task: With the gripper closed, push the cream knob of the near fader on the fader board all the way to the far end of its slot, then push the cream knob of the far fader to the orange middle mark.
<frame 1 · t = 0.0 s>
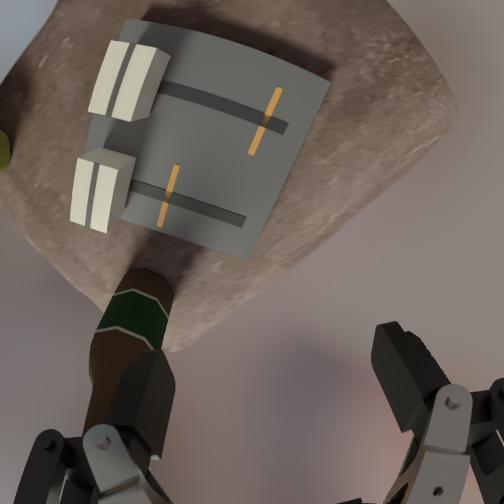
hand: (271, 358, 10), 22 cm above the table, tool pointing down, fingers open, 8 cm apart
fader board: (191, 134, 26), on the table
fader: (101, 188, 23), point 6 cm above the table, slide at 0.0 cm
beer bottle: (147, 290, 36), on the table
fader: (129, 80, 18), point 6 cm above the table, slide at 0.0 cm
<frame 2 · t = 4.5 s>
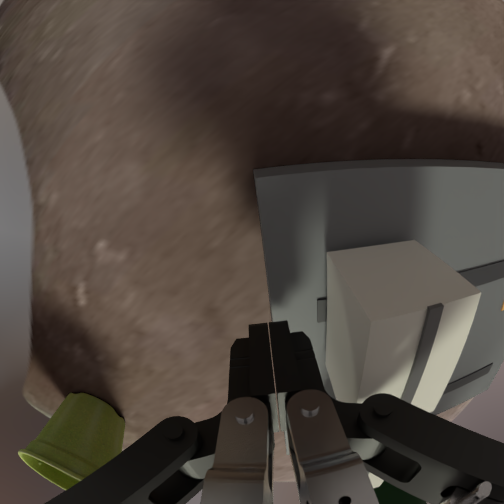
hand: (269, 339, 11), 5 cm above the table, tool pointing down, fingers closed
plant pot: (96, 410, 20), on the table
fader board: (419, 313, 16), on the table
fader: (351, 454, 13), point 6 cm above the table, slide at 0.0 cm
beer bottle: (371, 451, 24), on the table
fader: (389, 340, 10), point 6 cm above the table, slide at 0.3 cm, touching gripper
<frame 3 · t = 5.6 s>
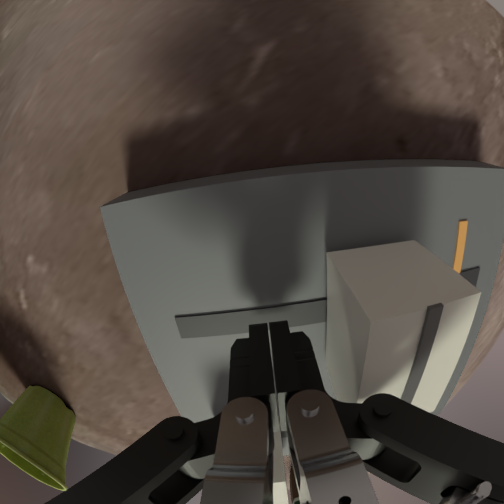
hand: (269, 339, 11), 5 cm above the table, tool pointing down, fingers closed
plant pot: (52, 402, 20), on the table
fader board: (334, 332, 16), on the table
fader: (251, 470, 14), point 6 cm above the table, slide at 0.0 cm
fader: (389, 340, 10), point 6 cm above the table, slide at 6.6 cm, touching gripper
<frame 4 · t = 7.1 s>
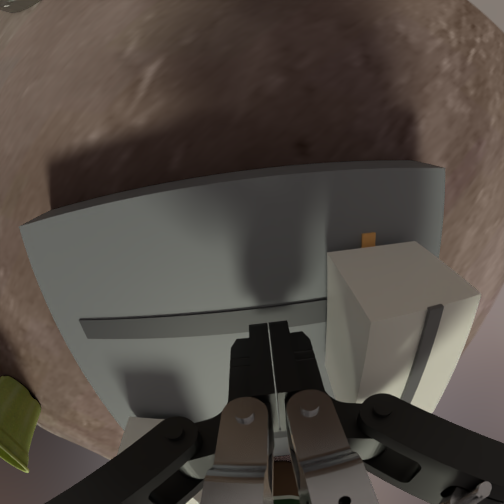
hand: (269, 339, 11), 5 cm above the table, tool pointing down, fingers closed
plant pot: (21, 392, 21), on the table
fader board: (245, 344, 17), on the table
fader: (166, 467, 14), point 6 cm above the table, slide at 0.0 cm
beer bottle: (270, 470, 25), on the table
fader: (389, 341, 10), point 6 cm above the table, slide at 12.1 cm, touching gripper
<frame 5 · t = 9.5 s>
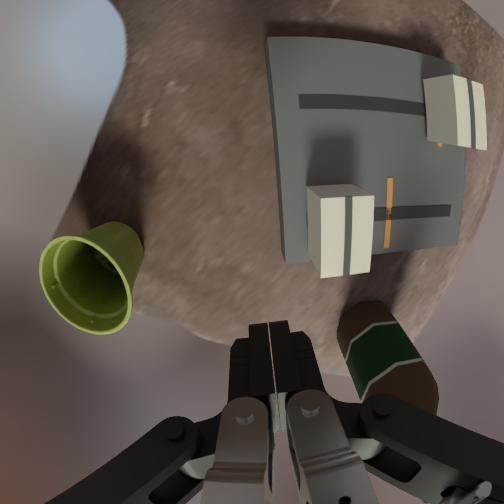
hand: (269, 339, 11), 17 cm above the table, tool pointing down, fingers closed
plant pot: (119, 248, 28), on the table
fader board: (375, 146, 24), on the table
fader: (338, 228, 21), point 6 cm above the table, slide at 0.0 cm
beer bottle: (363, 323, 33), on the table
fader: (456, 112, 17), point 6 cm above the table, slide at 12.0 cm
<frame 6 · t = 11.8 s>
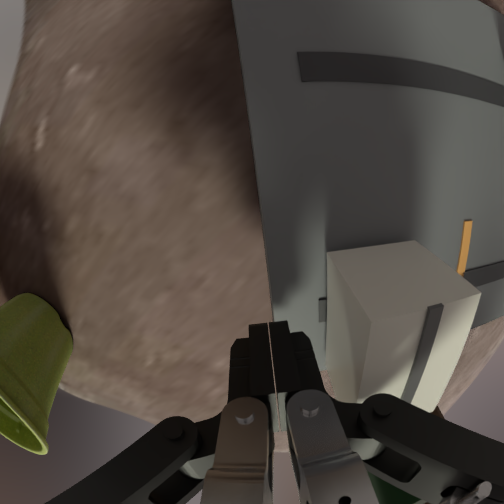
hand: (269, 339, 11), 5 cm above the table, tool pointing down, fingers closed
plant pot: (43, 325, 16), on the table
fader board: (435, 159, 12), on the table
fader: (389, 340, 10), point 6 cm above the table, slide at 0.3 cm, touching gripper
beer bottle: (391, 406, 21), on the table
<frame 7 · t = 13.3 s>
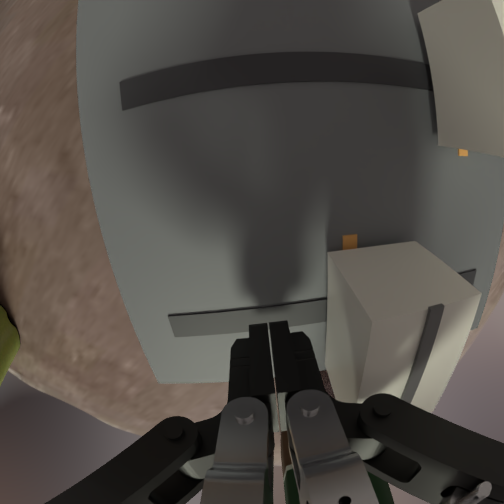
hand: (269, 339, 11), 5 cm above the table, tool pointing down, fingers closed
fader board: (326, 162, 13), on the table
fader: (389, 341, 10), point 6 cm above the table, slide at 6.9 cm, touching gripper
beer bottle: (320, 423, 21), on the table
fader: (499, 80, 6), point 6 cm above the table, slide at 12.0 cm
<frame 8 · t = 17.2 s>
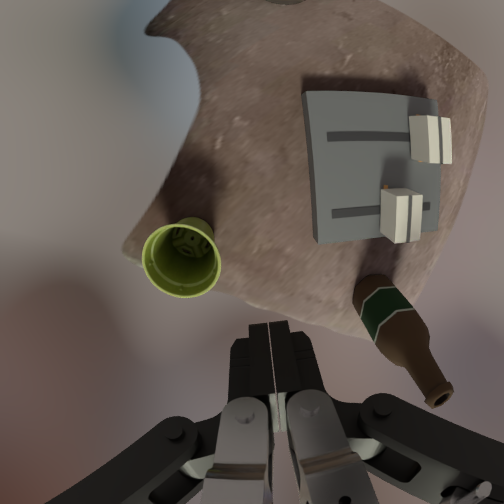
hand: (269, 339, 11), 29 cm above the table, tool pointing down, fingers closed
plant pot: (193, 237, 40), on the table
fader board: (375, 163, 36), on the table
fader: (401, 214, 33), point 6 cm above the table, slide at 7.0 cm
beer bottle: (371, 292, 44), on the table
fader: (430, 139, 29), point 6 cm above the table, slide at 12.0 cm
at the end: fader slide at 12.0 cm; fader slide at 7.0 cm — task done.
